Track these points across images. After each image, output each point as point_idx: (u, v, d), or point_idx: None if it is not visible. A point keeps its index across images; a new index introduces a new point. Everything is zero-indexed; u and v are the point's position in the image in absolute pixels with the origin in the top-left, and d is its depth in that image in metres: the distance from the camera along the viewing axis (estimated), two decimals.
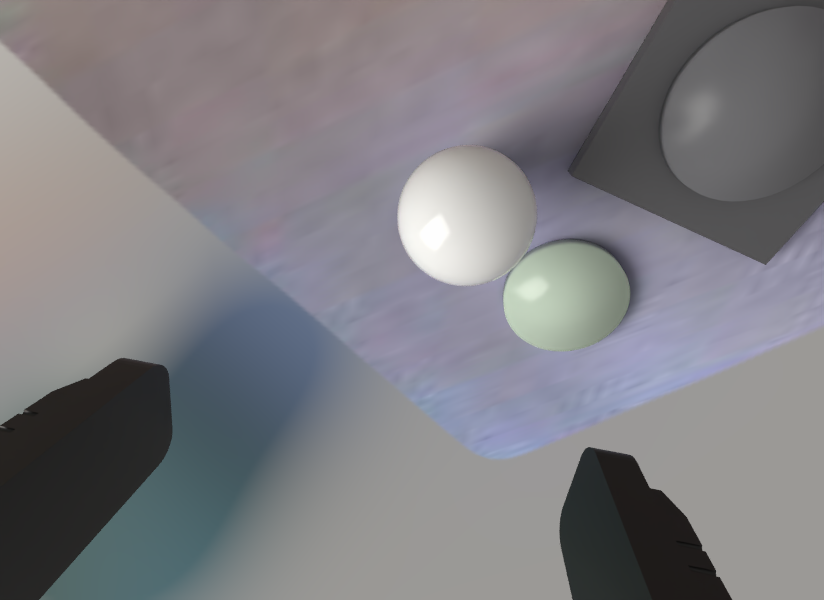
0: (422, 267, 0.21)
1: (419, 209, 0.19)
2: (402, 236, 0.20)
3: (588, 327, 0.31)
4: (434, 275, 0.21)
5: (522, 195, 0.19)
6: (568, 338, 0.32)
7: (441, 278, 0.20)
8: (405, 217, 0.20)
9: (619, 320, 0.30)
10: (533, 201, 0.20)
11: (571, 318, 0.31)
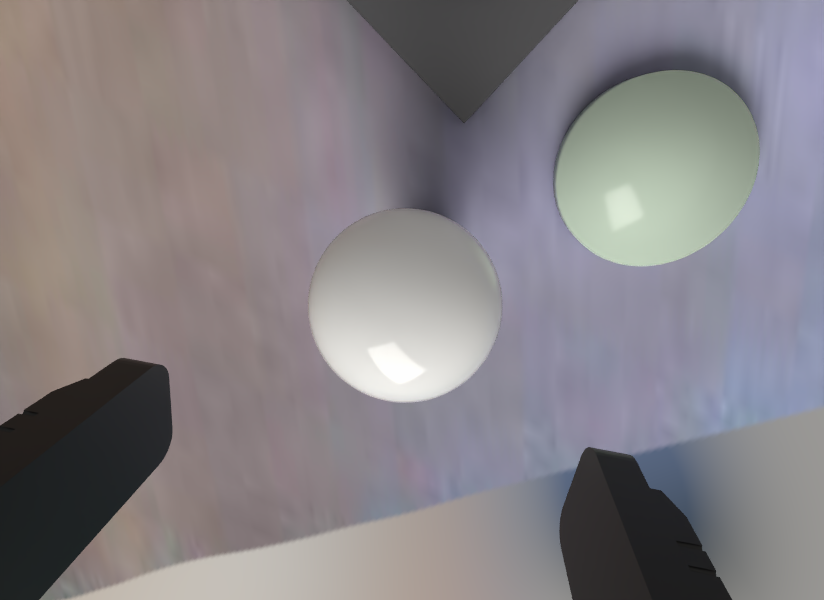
0: (429, 398, 0.14)
1: (341, 374, 0.14)
2: None
3: (721, 150, 0.19)
4: (444, 390, 0.14)
5: (375, 236, 0.13)
6: (725, 186, 0.19)
7: (451, 384, 0.14)
8: None
9: (734, 97, 0.18)
10: (399, 220, 0.13)
11: (690, 173, 0.19)
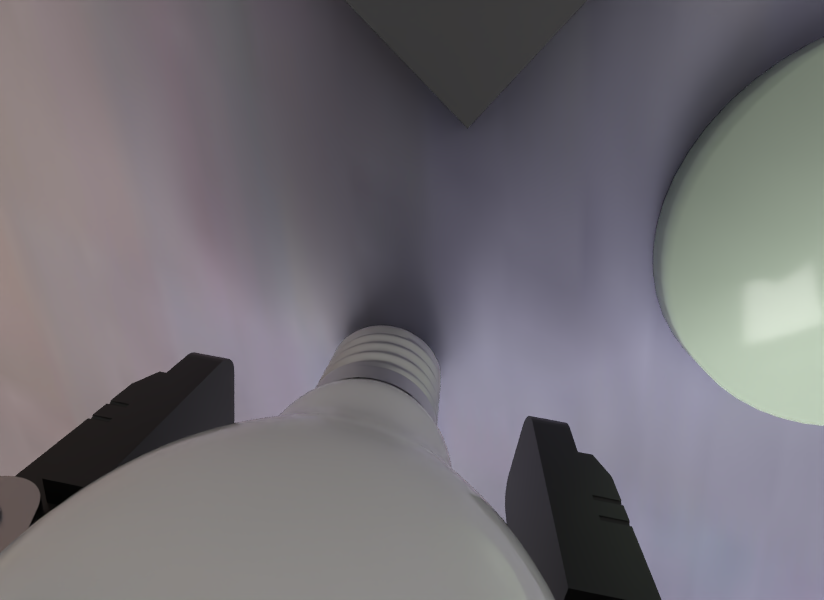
0: None
1: None
2: None
3: None
4: None
5: None
6: None
7: None
8: None
9: None
10: None
11: None
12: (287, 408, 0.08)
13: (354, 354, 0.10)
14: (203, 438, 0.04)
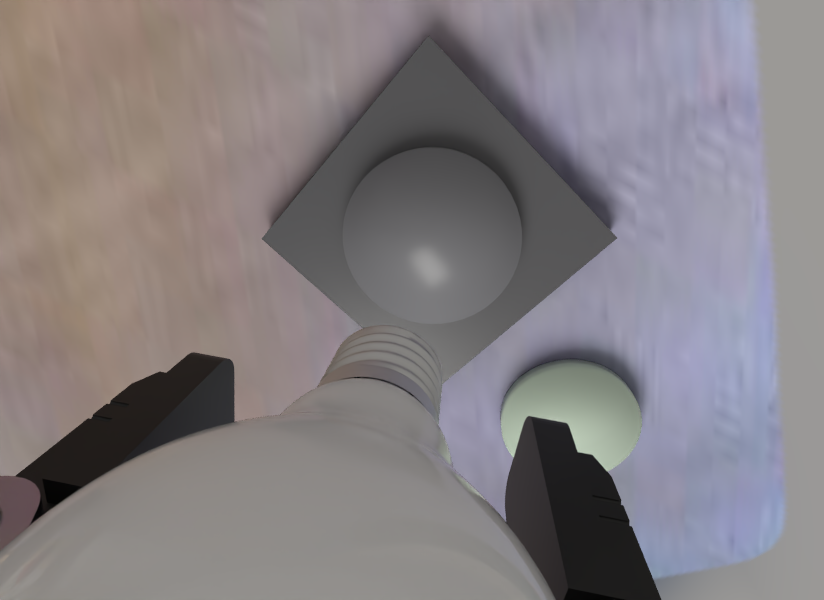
0: None
1: None
2: None
3: (615, 415, 0.27)
4: None
5: None
6: (619, 436, 0.27)
7: None
8: None
9: (621, 385, 0.26)
10: None
11: (594, 427, 0.27)
12: (288, 407, 0.08)
13: (356, 354, 0.10)
14: (204, 436, 0.04)
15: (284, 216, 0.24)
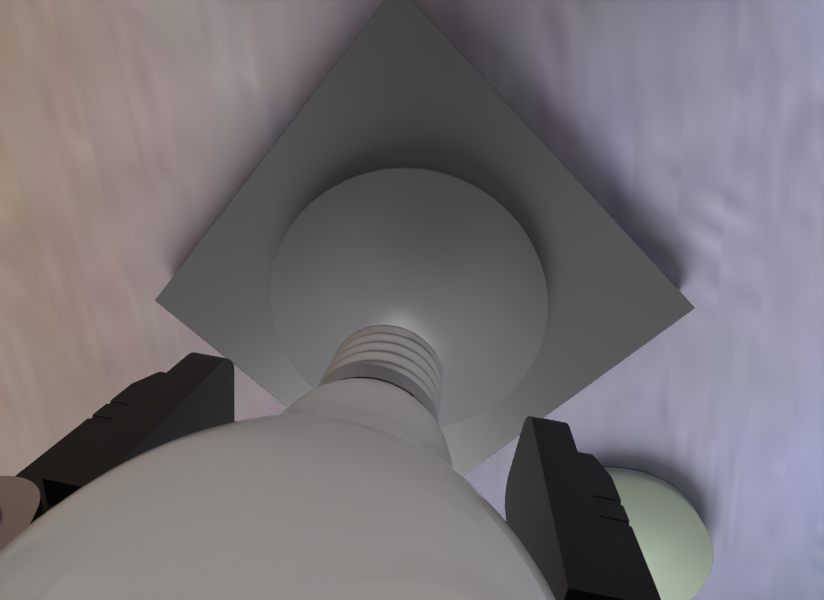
0: None
1: None
2: None
3: (675, 548, 0.18)
4: None
5: None
6: (679, 575, 0.19)
7: None
8: None
9: (686, 511, 0.18)
10: None
11: None
12: (288, 407, 0.08)
13: (356, 354, 0.10)
14: (204, 436, 0.04)
15: (185, 269, 0.16)
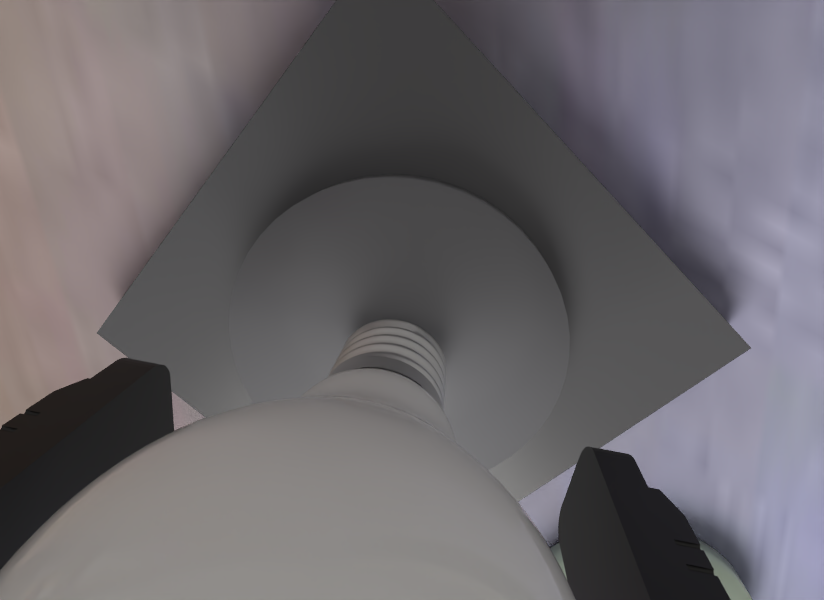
0: None
1: None
2: None
3: None
4: None
5: None
6: None
7: None
8: None
9: (730, 580, 0.15)
10: (194, 580, 0.03)
11: None
12: (302, 395, 0.08)
13: (364, 346, 0.10)
14: (235, 413, 0.05)
15: (130, 296, 0.13)
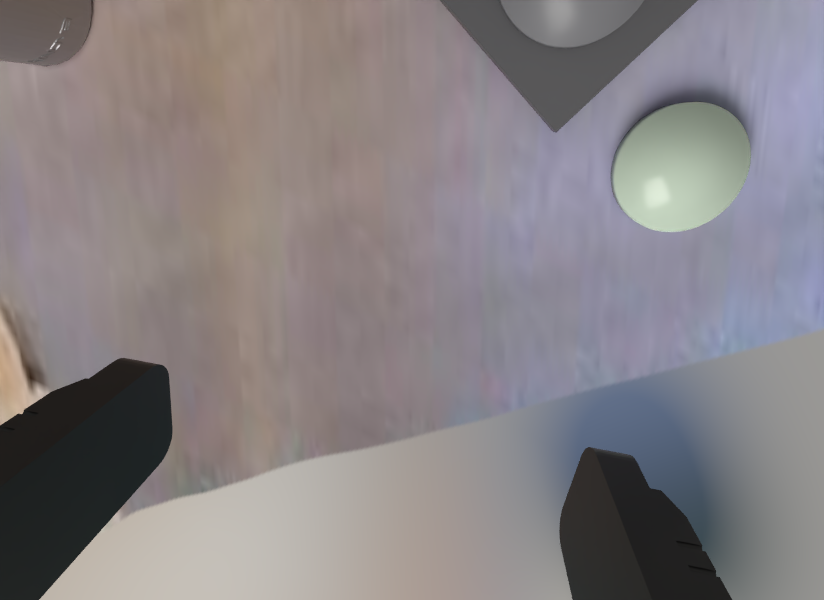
0: None
1: None
2: None
3: (725, 154, 0.29)
4: None
5: None
6: (727, 179, 0.29)
7: None
8: None
9: (735, 120, 0.28)
10: None
11: (704, 169, 0.29)
12: None
13: None
14: None
15: None
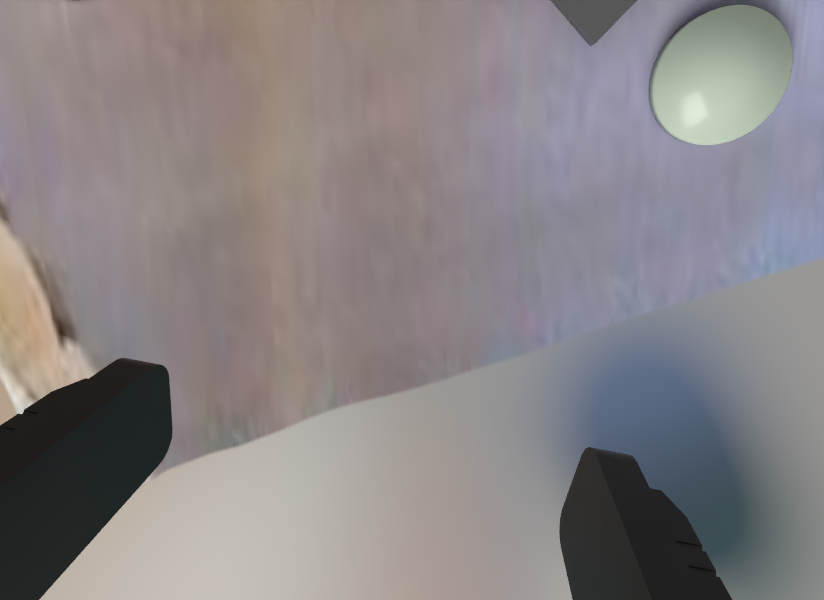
0: None
1: None
2: None
3: (767, 59, 0.28)
4: None
5: None
6: (769, 85, 0.29)
7: None
8: None
9: (777, 22, 0.28)
10: None
11: (745, 76, 0.29)
12: None
13: None
14: None
15: None
